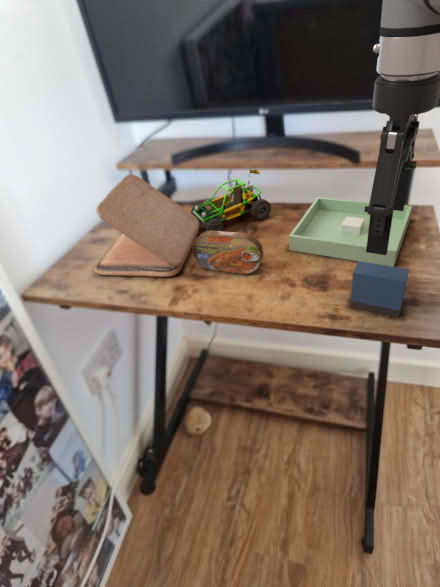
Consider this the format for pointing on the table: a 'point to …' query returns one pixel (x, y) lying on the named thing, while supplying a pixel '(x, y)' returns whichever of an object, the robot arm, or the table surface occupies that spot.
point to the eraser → (378, 288)
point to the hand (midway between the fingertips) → (386, 229)
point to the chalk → (352, 225)
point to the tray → (331, 242)
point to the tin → (228, 252)
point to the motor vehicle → (232, 205)
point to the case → (145, 231)
